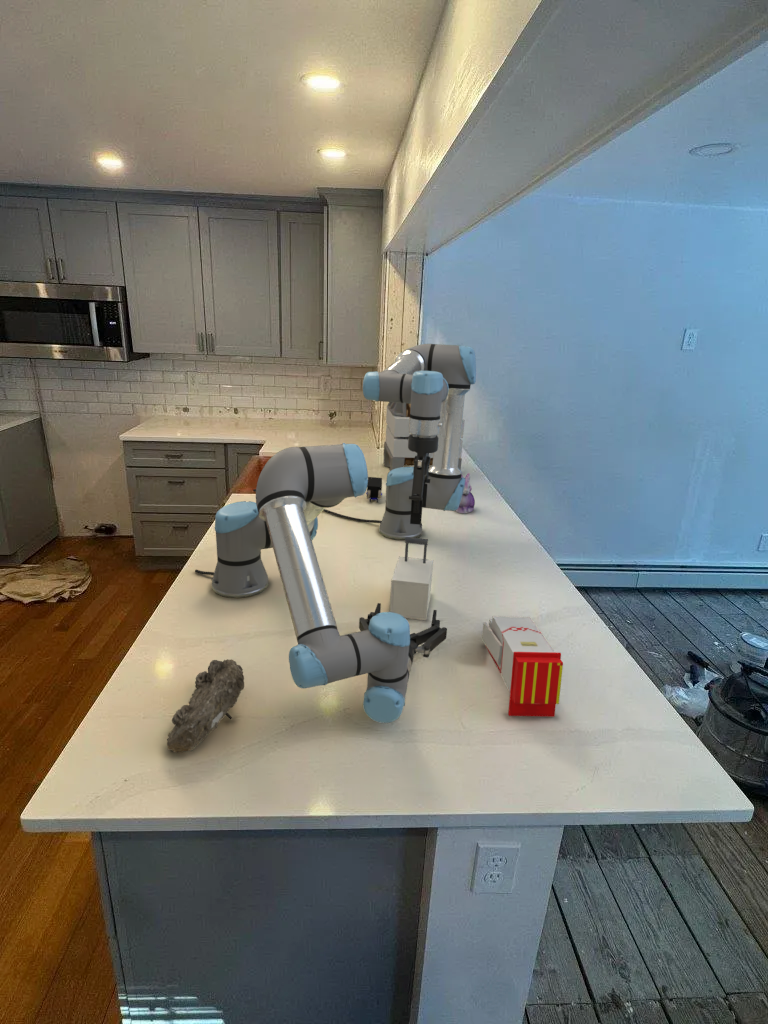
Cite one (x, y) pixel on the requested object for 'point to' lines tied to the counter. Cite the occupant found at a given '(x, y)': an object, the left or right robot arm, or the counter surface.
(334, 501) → the left robot arm
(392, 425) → the transformer
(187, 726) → the fossil
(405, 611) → the white cabinet body
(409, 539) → the lid
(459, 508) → the figurine
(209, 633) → the counter surface
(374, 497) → the figurine character
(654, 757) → the counter surface
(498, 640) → the toy
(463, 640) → the counter surface
